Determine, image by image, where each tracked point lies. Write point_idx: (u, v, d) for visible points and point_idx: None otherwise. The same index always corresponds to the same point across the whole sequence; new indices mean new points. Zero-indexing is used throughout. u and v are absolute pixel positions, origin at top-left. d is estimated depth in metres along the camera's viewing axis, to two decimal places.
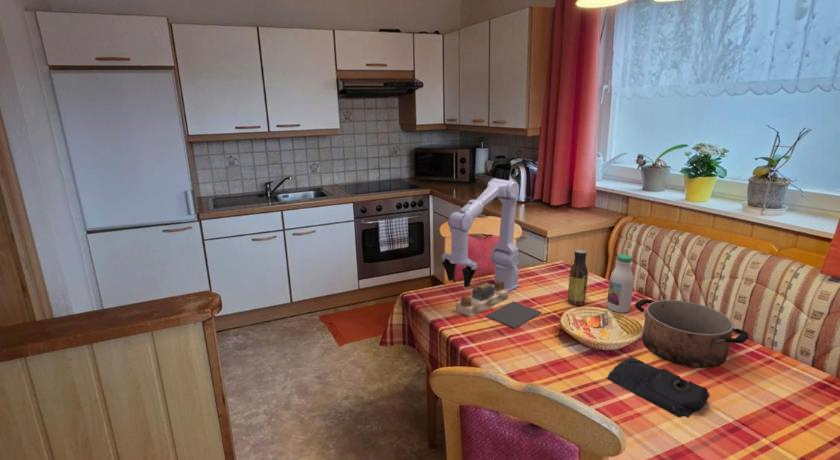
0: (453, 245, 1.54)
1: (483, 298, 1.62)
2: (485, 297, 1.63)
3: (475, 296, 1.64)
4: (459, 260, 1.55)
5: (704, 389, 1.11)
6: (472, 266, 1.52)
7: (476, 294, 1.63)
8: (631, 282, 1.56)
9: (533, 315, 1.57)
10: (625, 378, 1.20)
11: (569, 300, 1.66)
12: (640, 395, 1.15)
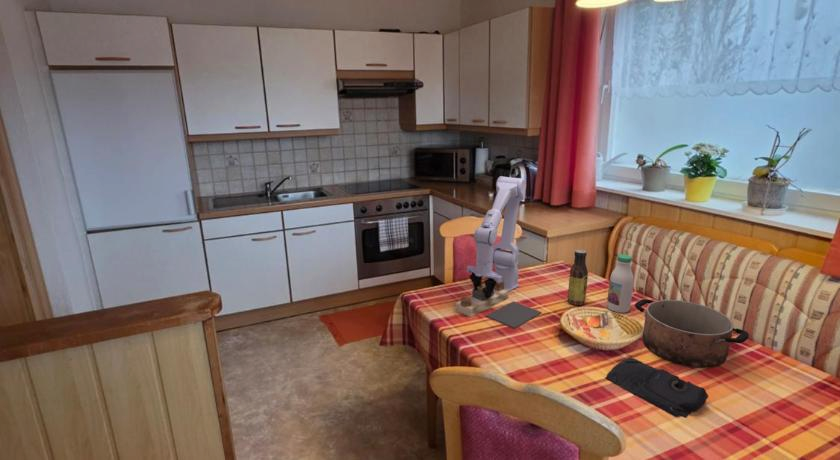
0: (480, 259, 1.59)
1: (483, 298, 1.62)
2: (485, 297, 1.63)
3: (475, 296, 1.64)
4: (484, 272, 1.60)
5: (702, 390, 1.11)
6: (497, 279, 1.58)
7: (476, 294, 1.63)
8: (631, 282, 1.56)
9: (533, 315, 1.57)
10: (624, 378, 1.20)
11: (569, 300, 1.66)
12: (638, 395, 1.15)
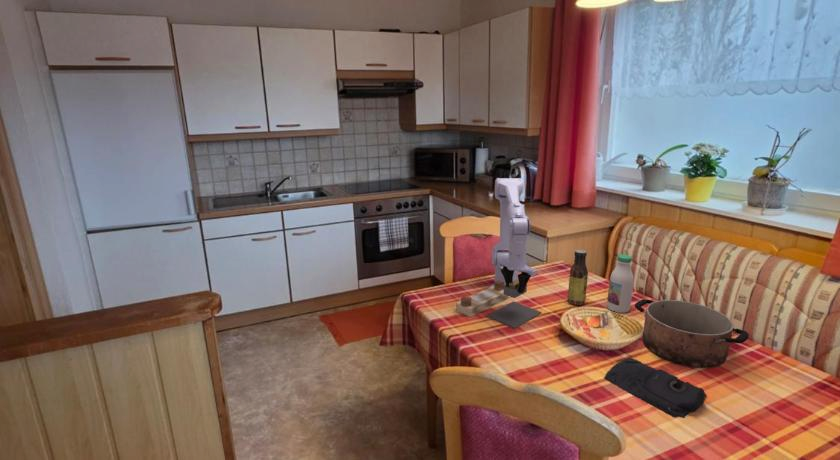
0: (518, 252, 1.49)
1: (516, 295, 1.52)
2: (518, 294, 1.53)
3: (507, 293, 1.54)
4: (518, 266, 1.50)
5: (701, 390, 1.11)
6: (532, 273, 1.48)
7: (508, 291, 1.53)
8: (631, 282, 1.56)
9: (533, 315, 1.57)
10: (622, 377, 1.20)
11: (569, 300, 1.66)
12: (636, 395, 1.15)
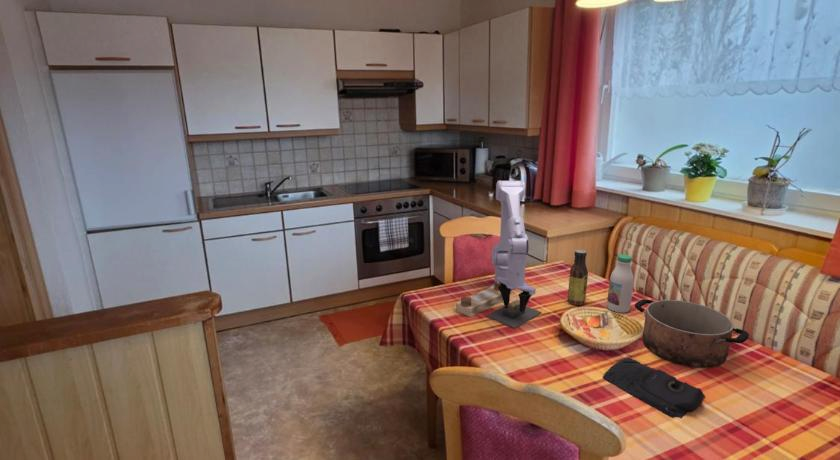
0: (517, 271, 1.50)
1: (515, 316, 1.54)
2: (517, 315, 1.55)
3: (506, 314, 1.56)
4: (517, 285, 1.52)
5: (699, 390, 1.11)
6: (531, 291, 1.50)
7: (507, 312, 1.55)
8: (631, 282, 1.56)
9: (533, 315, 1.57)
10: (620, 377, 1.20)
11: (569, 300, 1.66)
12: (634, 395, 1.15)
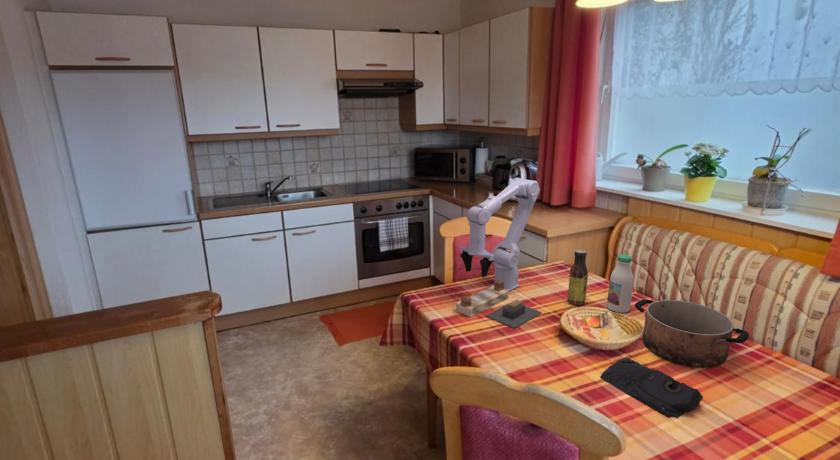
0: (471, 237, 1.65)
1: (515, 316, 1.54)
2: (517, 315, 1.55)
3: (506, 314, 1.56)
4: (477, 251, 1.65)
5: (696, 391, 1.10)
6: (489, 257, 1.62)
7: (507, 312, 1.55)
8: (631, 282, 1.56)
9: (533, 315, 1.57)
10: (618, 377, 1.20)
11: (569, 300, 1.66)
12: (631, 395, 1.15)
